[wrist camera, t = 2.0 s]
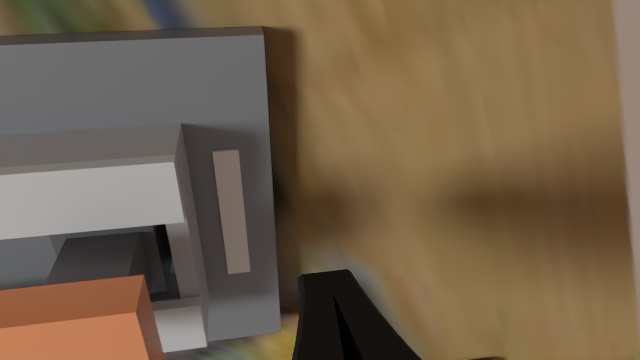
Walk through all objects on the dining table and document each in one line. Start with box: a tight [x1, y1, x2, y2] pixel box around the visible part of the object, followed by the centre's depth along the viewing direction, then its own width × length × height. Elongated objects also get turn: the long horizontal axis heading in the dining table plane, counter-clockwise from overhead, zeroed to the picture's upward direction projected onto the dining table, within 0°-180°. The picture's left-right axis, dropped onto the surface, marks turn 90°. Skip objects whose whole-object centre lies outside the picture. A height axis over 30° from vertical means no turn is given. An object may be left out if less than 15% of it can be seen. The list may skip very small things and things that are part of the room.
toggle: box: [0, 224, 172, 360], centre depth 13 cm, size 3×3×6 cm
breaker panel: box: [0, 26, 281, 352], centre depth 15 cm, size 12×16×3 cm
